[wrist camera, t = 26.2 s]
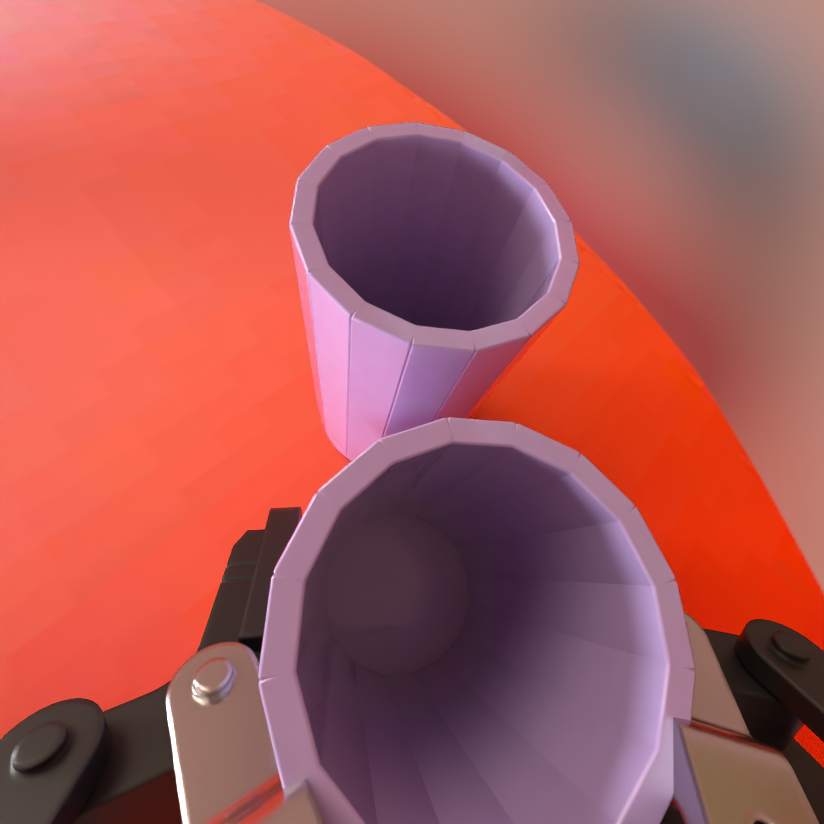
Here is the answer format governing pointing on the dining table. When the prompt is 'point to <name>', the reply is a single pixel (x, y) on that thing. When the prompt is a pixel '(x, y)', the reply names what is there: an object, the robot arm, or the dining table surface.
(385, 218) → the cup
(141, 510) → the dining table surface
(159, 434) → the dining table surface
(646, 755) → the middle cup
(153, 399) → the dining table surface
